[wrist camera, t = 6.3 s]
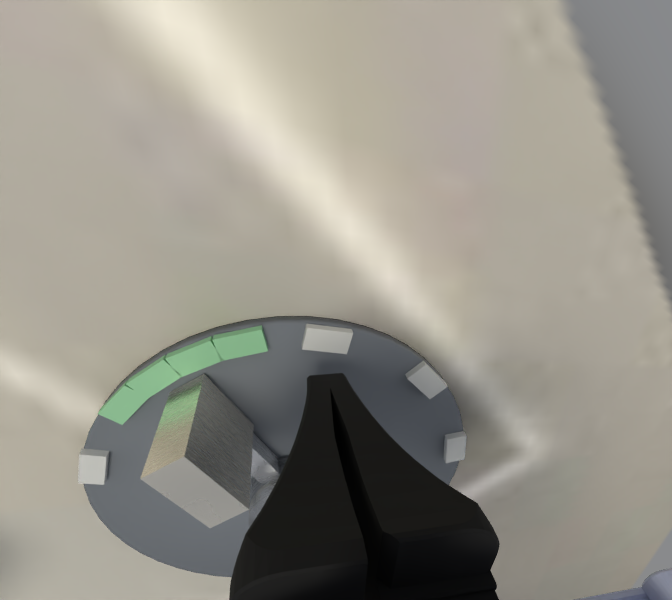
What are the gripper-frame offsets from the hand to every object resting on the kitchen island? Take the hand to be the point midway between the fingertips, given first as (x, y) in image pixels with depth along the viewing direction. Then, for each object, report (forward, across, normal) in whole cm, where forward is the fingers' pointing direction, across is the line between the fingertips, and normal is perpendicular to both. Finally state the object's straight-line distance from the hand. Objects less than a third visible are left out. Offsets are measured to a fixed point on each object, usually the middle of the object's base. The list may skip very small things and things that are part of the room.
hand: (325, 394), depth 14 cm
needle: (+1, +3, +4) cm, 5 cm away
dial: (+2, +2, +7) cm, 7 cm away
